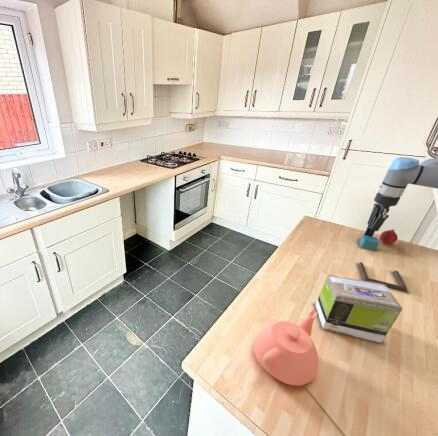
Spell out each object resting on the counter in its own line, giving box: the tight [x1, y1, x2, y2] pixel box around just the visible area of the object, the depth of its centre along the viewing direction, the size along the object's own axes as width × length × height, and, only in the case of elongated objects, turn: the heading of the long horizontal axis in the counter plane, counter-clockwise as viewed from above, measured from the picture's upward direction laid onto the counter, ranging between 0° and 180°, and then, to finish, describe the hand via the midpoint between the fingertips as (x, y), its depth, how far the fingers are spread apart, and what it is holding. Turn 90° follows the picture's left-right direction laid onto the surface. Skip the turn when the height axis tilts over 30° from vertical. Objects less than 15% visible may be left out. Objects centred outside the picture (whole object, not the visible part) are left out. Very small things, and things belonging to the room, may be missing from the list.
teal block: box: [358, 234, 380, 251], centre depth 111 cm, size 5×5×5 cm
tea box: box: [315, 274, 403, 343], centre depth 73 cm, size 15×10×15 cm, turn 70°
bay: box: [358, 261, 408, 293], centre depth 94 cm, size 11×12×2 cm
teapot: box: [253, 309, 319, 386], centre depth 64 cm, size 22×15×12 cm
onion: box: [379, 228, 398, 245], centre depth 112 cm, size 6×6×8 cm
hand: (365, 240), depth 114 cm, fingers closed
